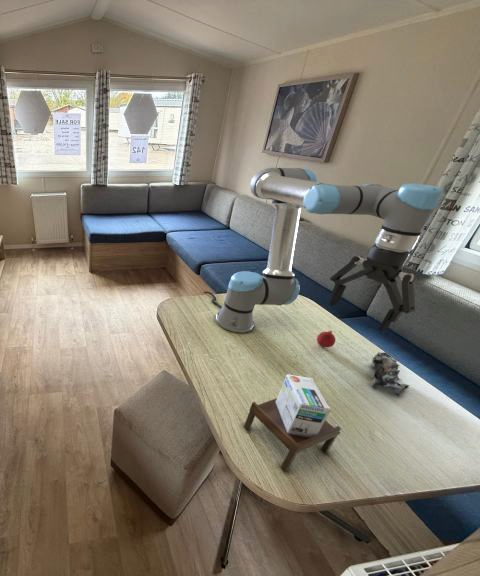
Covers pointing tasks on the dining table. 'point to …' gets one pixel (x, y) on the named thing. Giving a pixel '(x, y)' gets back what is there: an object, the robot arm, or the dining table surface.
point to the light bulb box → (302, 406)
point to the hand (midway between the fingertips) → (356, 316)
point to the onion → (326, 339)
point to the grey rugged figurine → (383, 367)
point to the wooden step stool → (293, 443)
